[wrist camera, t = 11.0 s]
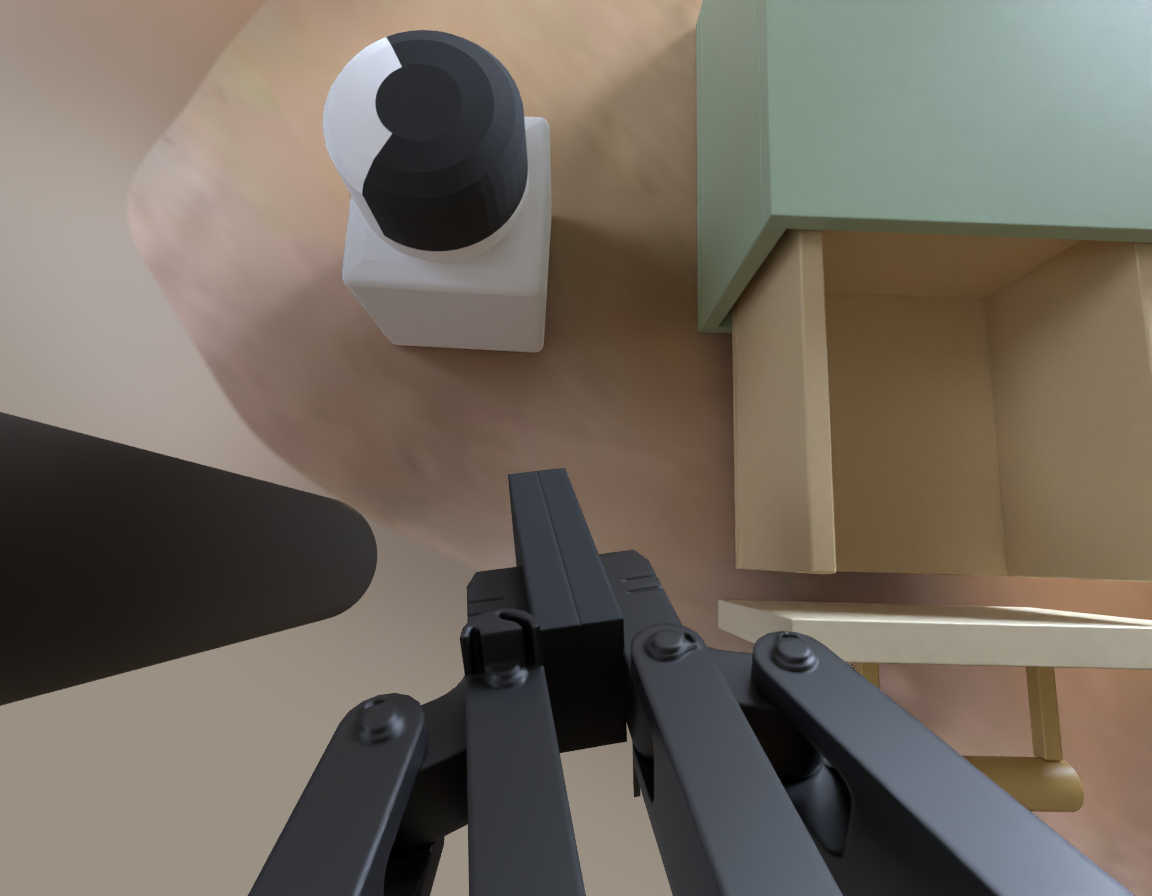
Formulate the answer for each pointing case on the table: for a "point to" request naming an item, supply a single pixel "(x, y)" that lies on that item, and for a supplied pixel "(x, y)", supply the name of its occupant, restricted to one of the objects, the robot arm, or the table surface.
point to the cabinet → (917, 125)
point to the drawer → (949, 451)
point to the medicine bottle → (442, 194)
